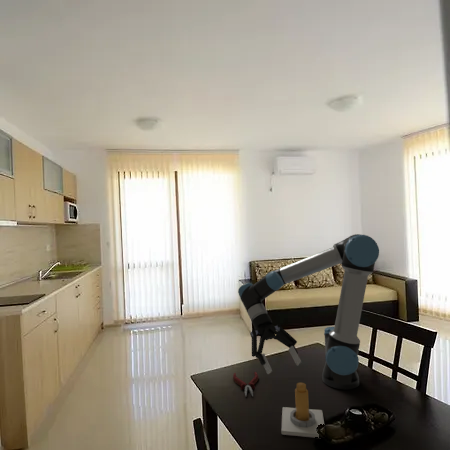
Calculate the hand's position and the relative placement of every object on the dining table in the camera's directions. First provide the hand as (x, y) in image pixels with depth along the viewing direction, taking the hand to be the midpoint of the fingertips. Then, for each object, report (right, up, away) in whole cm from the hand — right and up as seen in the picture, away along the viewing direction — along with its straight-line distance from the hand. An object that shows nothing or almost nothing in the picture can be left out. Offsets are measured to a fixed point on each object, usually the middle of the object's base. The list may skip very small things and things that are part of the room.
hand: (285, 368), depth 116 cm
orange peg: (+5, -15, -7) cm, 17 cm away
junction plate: (+5, -16, -7) cm, 18 cm away
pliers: (-14, -18, +21) cm, 31 cm away
